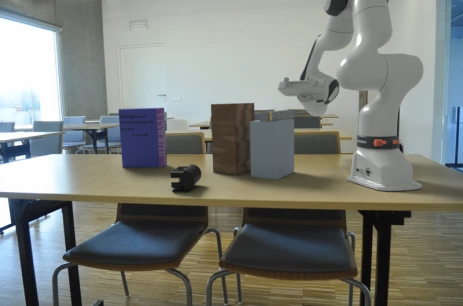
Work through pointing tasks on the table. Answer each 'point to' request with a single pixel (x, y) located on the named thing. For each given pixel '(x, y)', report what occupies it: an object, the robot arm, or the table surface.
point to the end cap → (185, 177)
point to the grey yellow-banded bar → (276, 115)
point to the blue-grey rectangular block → (272, 148)
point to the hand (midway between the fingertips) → (296, 78)
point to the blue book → (143, 137)
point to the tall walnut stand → (231, 137)
